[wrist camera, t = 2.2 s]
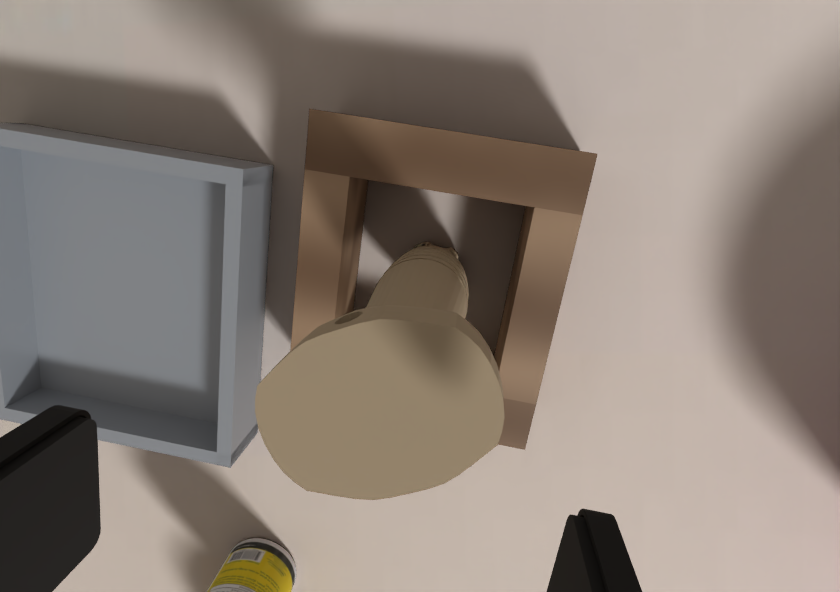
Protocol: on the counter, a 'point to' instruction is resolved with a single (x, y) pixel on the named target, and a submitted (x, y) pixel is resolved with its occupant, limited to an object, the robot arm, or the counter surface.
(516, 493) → the counter surface
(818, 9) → the counter surface
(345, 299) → the holder
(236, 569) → the supplement bottle
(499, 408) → the handle
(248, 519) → the counter surface
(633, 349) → the counter surface
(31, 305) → the tray
